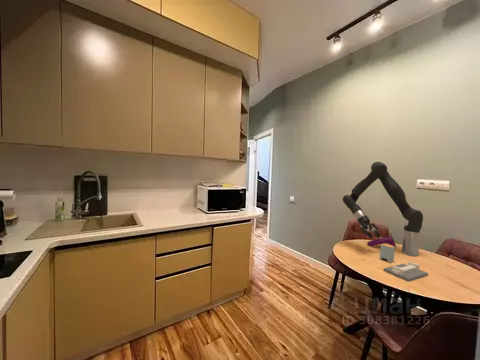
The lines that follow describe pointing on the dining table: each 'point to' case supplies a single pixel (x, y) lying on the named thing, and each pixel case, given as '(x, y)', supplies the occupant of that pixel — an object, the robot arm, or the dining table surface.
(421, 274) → the mounting board
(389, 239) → the mounting bracket
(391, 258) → the plate
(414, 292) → the dining table surface
